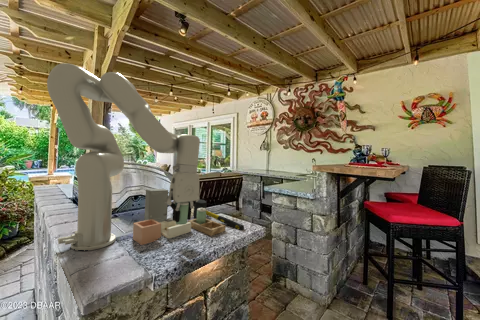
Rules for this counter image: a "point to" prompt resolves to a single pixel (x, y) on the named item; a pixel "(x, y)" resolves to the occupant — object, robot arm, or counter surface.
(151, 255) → the counter surface
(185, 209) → the cylinder
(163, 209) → the skincare box
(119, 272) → the counter surface
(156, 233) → the orange open box
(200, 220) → the cylinder
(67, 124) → the robot arm
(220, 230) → the trough
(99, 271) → the counter surface
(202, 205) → the mallet
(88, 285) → the counter surface
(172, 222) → the cradle
